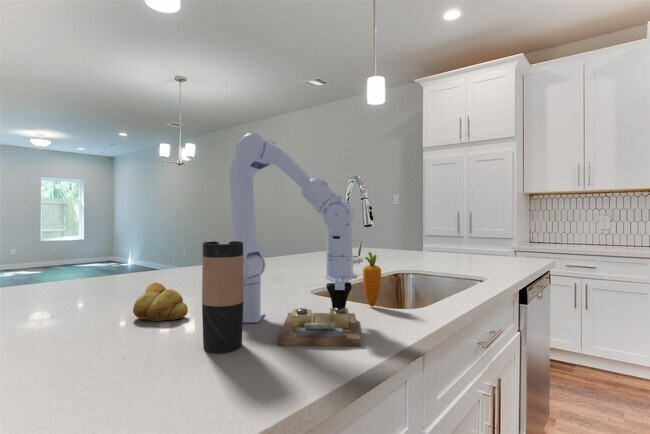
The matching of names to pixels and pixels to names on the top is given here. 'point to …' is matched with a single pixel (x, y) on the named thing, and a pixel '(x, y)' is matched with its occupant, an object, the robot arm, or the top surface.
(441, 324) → the top surface
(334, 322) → the slide
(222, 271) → the travel mug
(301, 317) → the slide
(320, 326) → the base
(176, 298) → the bread roll
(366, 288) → the carrot
